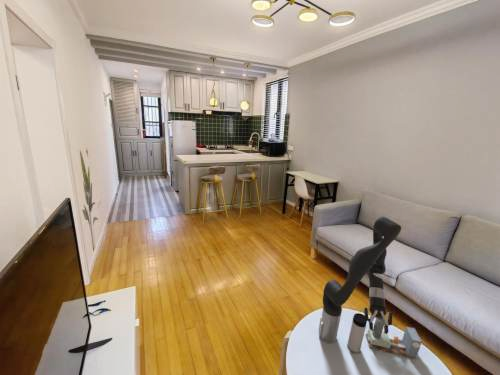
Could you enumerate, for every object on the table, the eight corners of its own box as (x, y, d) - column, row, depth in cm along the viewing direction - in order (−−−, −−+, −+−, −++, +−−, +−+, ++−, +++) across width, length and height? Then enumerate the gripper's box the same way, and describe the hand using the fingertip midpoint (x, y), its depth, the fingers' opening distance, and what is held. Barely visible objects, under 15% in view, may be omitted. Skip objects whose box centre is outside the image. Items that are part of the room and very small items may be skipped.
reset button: (395, 345, 122) (397, 340, 121) (393, 339, 125) (394, 334, 124) (402, 347, 121) (403, 341, 120) (399, 341, 125) (401, 335, 124)
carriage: (371, 343, 123) (376, 324, 119) (367, 332, 130) (372, 313, 126) (389, 348, 121) (395, 328, 118) (385, 336, 128) (390, 317, 124)
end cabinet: (408, 355, 119) (412, 340, 116) (401, 341, 127) (406, 326, 124) (416, 357, 118) (421, 342, 116) (410, 343, 126) (414, 328, 123)
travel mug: (362, 354, 119) (369, 323, 114) (348, 351, 121) (355, 320, 115) (359, 344, 125) (366, 313, 120) (346, 341, 127) (352, 311, 121)
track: (369, 348, 123) (370, 345, 123) (365, 335, 131) (366, 332, 130) (416, 359, 119) (417, 355, 118) (409, 345, 126) (410, 341, 126)
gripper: (365, 294, 128) (366, 329, 120) (393, 299, 125) (397, 335, 118) (361, 295, 135) (362, 328, 127) (388, 300, 132) (391, 335, 124)
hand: (378, 332), depth 122 cm, fingers open, 6 cm apart
